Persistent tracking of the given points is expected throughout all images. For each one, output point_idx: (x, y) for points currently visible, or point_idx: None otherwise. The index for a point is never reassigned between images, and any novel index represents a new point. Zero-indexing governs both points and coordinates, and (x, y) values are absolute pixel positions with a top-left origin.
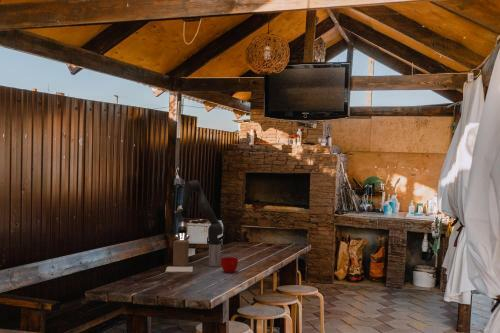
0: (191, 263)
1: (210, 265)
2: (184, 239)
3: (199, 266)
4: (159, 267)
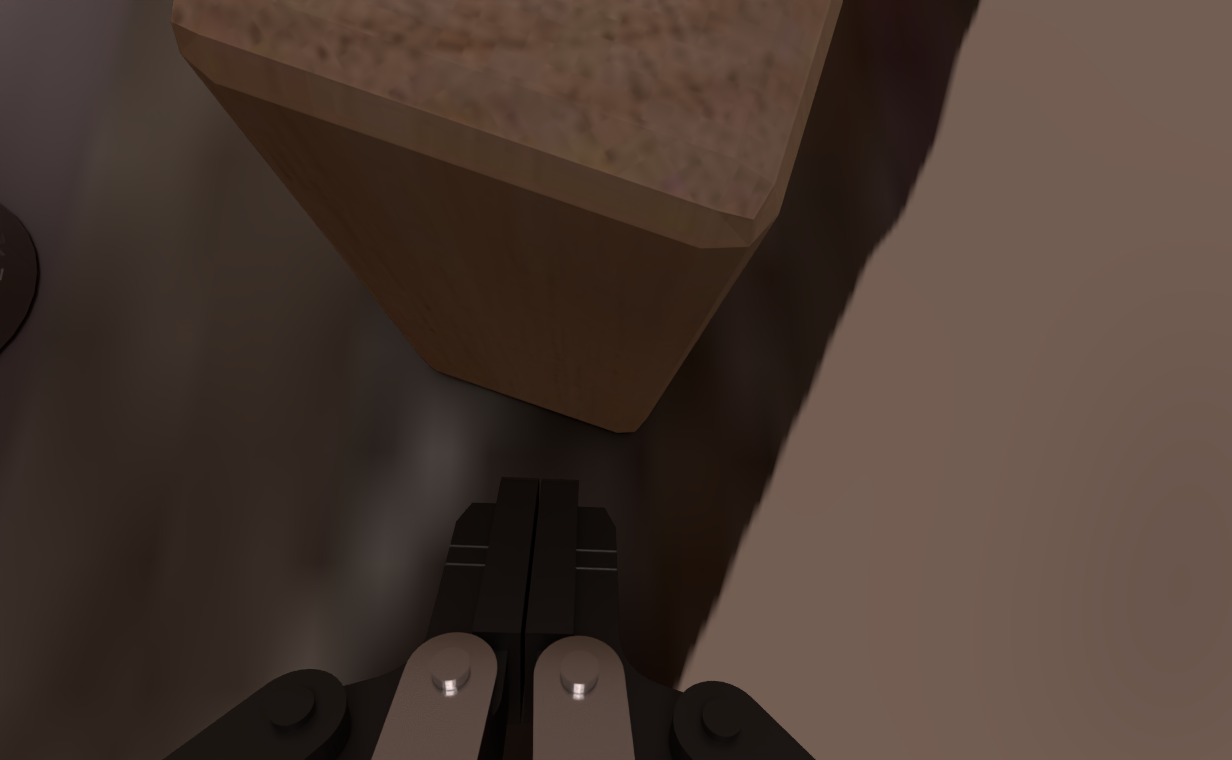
0: (347, 528)
1: (11, 217)
2: (333, 712)
3: (233, 220)
4: (901, 176)
